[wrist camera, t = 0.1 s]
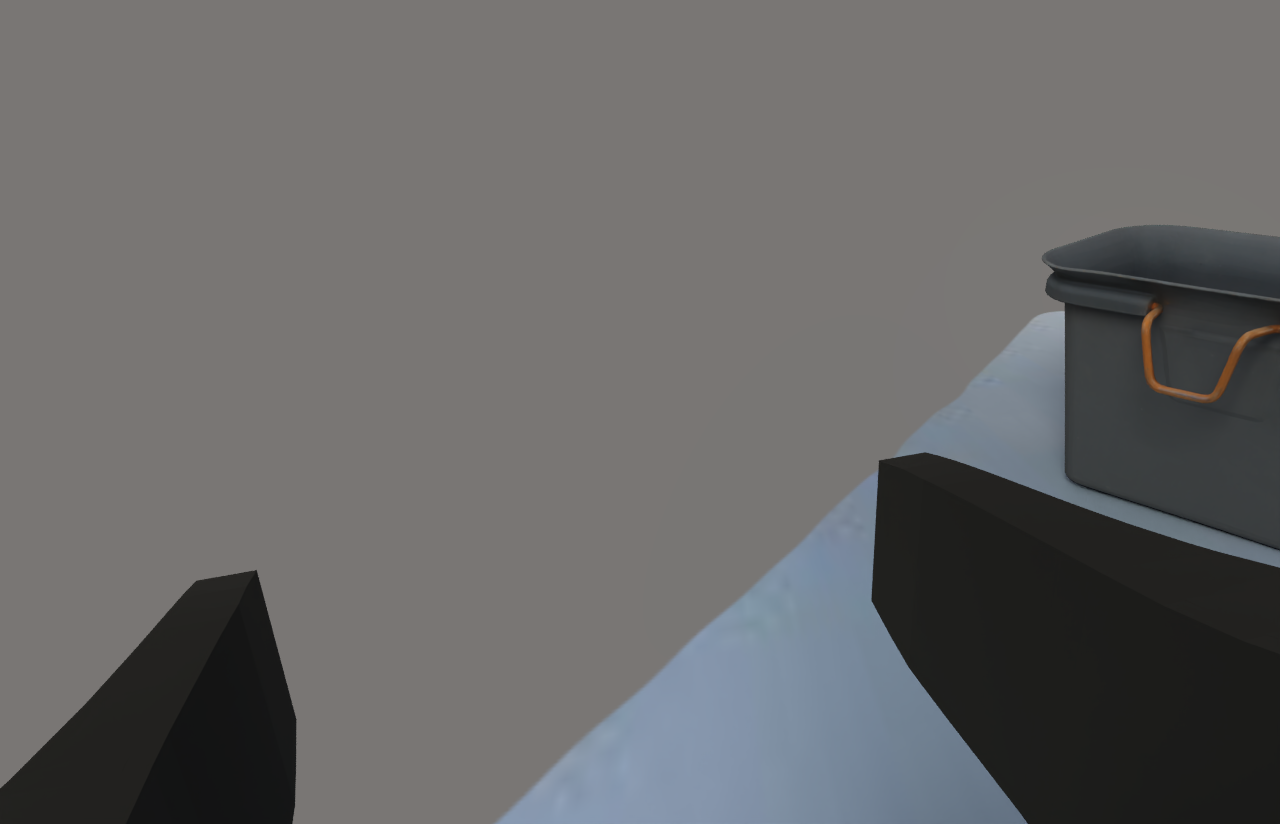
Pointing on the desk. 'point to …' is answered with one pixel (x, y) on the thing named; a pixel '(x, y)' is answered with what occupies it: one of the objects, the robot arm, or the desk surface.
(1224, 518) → the storage bin
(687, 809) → the desk surface
